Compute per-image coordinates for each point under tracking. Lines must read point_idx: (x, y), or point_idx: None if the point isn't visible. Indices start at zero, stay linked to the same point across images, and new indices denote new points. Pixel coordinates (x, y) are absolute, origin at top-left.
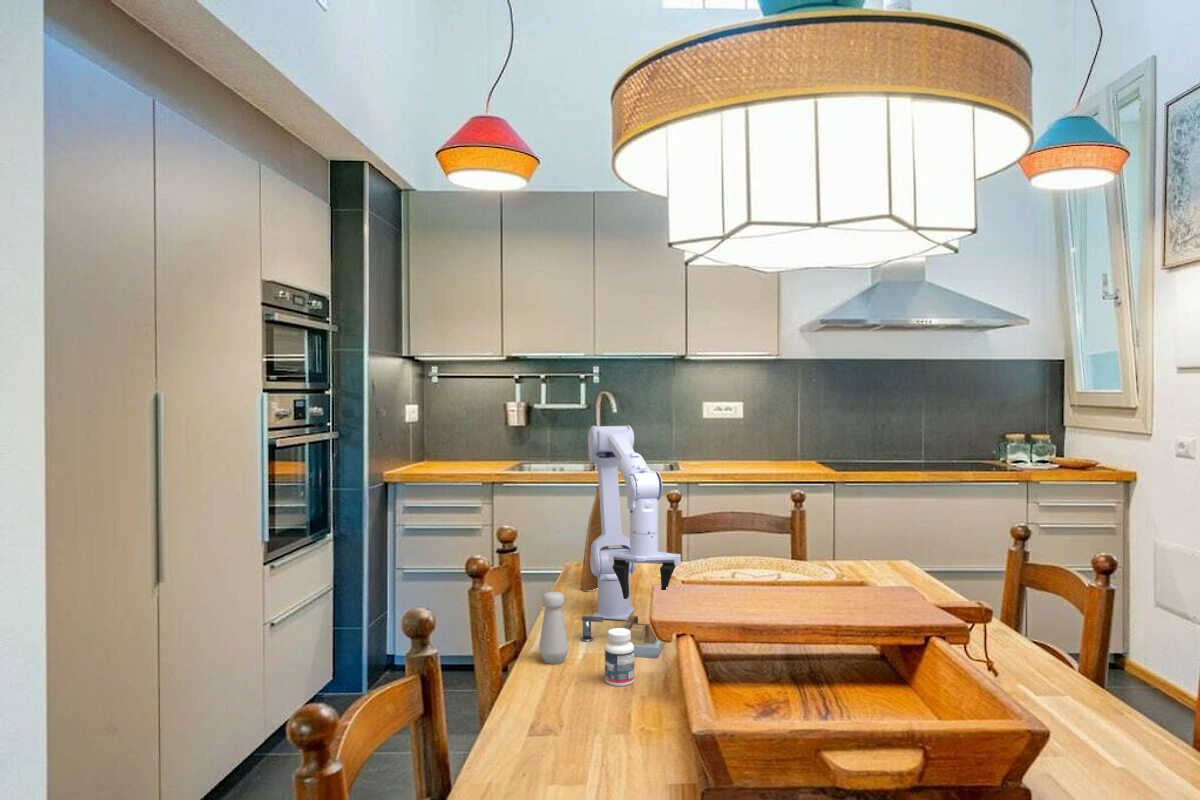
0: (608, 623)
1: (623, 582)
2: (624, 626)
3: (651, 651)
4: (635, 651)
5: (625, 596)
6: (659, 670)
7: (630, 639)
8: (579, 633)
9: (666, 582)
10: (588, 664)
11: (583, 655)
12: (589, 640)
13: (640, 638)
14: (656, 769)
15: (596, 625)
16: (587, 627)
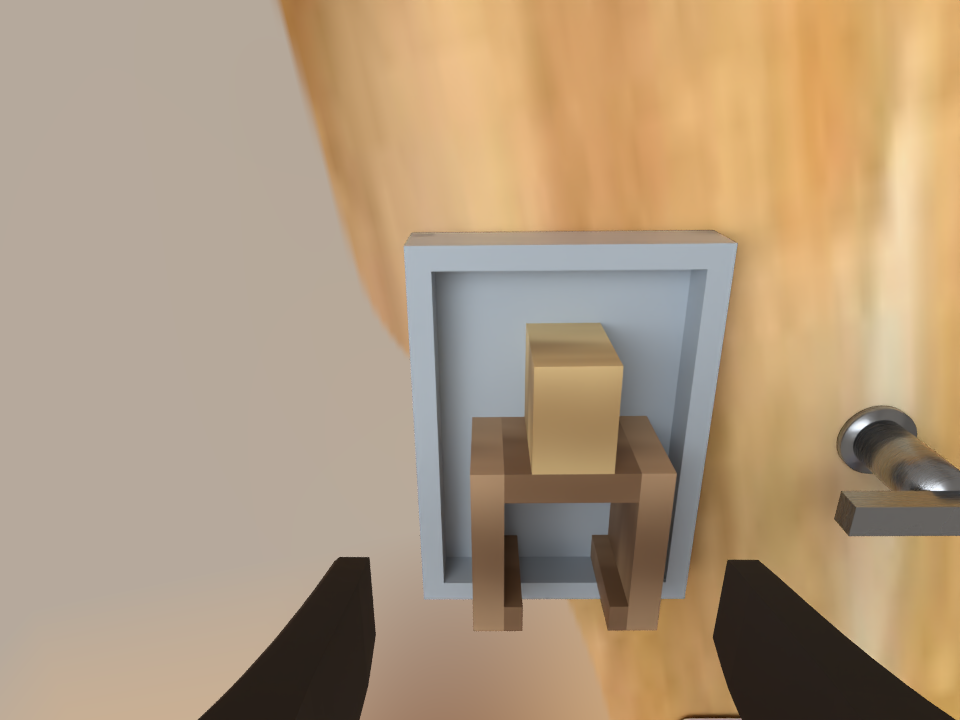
0: None
1: (861, 692)
2: (677, 566)
3: (447, 240)
4: (553, 238)
5: (751, 571)
6: (352, 18)
7: (607, 341)
8: None
9: (212, 714)
10: (842, 12)
11: (884, 177)
12: (860, 416)
13: (540, 345)
14: None
15: None
16: (920, 460)
